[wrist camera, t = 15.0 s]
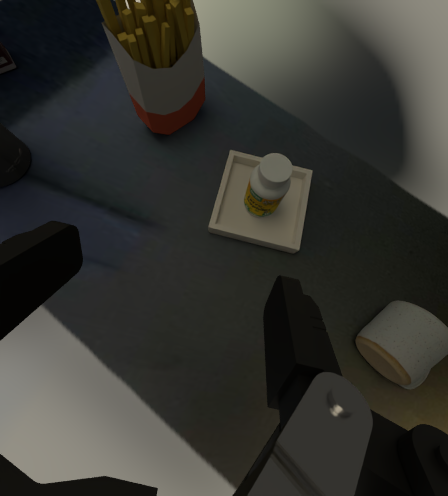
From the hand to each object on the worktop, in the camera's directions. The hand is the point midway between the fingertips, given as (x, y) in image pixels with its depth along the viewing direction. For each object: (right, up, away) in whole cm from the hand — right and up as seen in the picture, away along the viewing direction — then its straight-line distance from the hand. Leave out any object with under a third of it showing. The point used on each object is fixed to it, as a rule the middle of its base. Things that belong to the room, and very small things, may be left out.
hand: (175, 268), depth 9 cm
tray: (+8, +8, +27) cm, 30 cm away
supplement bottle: (+8, +8, +27) cm, 29 cm away
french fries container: (-7, +24, +31) cm, 39 cm away
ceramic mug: (+25, -13, +23) cm, 37 cm away
